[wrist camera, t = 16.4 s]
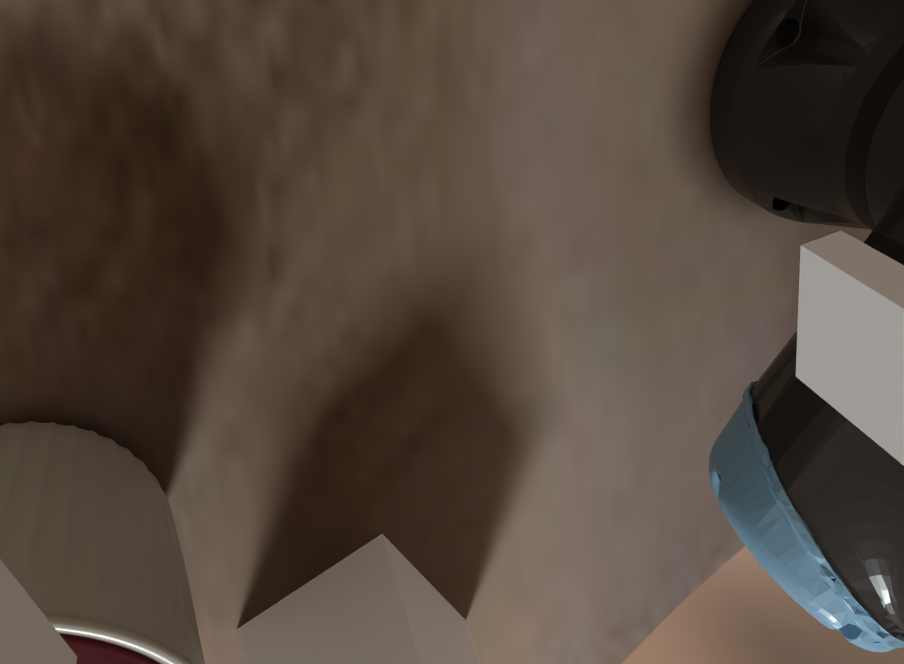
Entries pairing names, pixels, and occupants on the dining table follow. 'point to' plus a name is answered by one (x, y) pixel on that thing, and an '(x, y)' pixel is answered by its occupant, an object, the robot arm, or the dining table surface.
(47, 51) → the dining table surface
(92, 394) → the dining table surface
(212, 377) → the dining table surface
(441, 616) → the milk
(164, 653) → the canister
